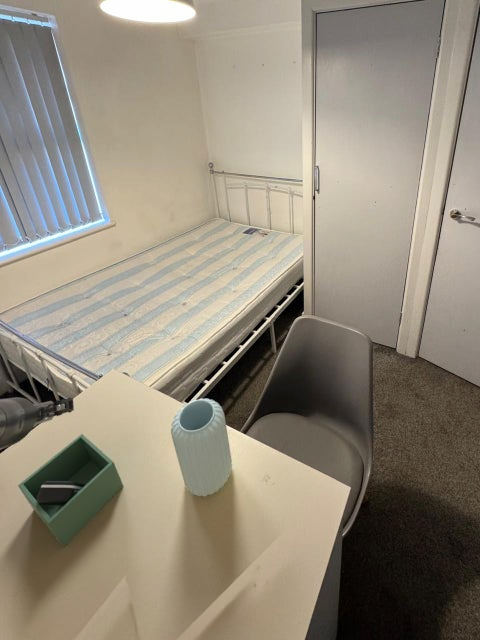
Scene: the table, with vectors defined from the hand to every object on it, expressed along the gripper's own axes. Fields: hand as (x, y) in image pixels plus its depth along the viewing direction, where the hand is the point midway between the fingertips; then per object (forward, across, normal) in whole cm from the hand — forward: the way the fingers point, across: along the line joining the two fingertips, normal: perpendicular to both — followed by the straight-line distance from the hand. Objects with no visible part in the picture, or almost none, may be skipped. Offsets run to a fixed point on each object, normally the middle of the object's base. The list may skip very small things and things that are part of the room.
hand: (41, 413), depth 65 cm
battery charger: (+17, 0, +20) cm, 26 cm away
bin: (+18, 0, +20) cm, 27 cm away
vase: (+13, -29, +25) cm, 41 cm away
